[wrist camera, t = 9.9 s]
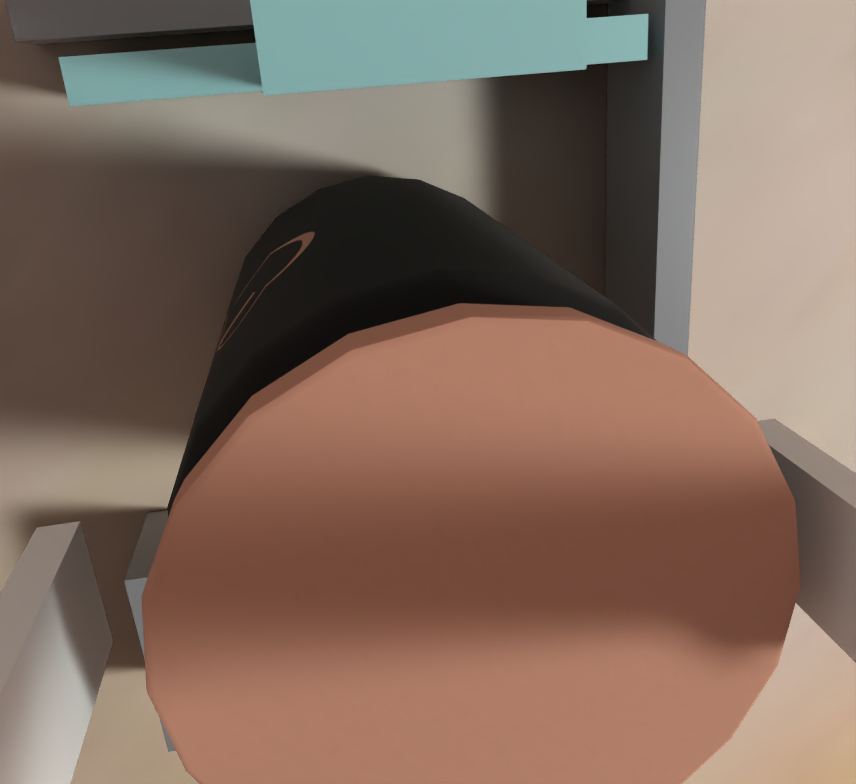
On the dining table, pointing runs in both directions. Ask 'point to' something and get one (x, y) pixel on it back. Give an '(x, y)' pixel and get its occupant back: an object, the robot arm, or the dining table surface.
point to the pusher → (366, 49)
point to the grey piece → (625, 175)
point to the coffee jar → (457, 521)
